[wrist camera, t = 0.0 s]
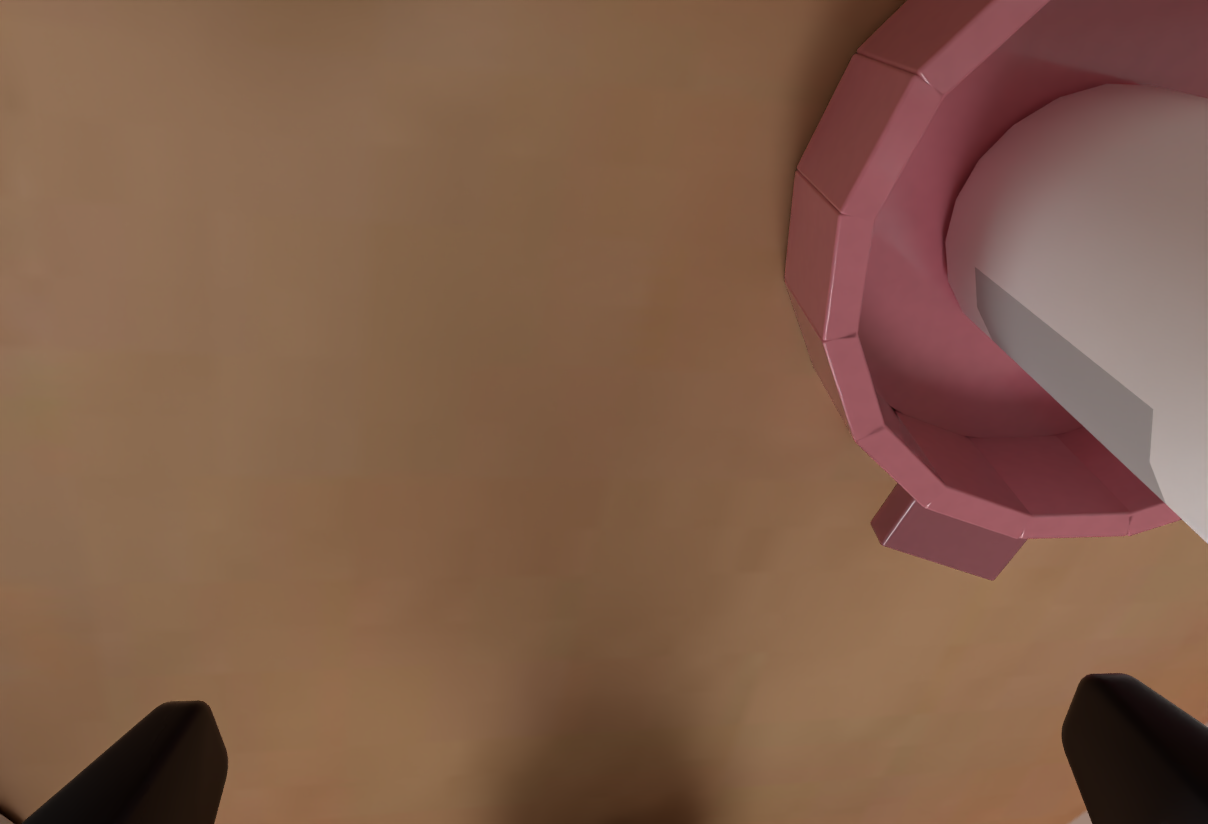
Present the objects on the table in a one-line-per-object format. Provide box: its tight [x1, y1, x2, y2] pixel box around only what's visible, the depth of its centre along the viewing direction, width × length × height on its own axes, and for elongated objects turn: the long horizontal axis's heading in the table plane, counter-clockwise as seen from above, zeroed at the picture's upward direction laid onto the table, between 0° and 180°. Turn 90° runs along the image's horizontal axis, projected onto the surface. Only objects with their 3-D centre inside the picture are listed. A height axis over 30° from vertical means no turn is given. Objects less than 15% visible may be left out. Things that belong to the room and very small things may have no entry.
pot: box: [784, 0, 1208, 581], centre depth 19 cm, size 18×15×4 cm
